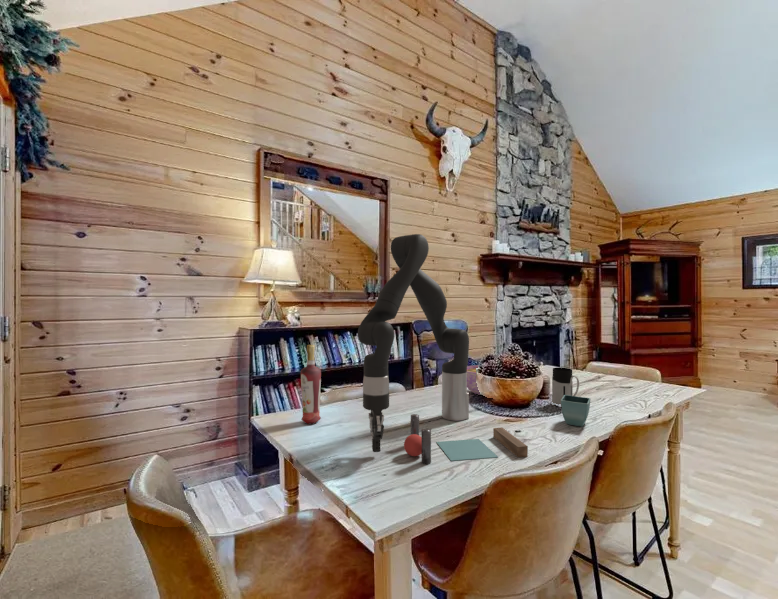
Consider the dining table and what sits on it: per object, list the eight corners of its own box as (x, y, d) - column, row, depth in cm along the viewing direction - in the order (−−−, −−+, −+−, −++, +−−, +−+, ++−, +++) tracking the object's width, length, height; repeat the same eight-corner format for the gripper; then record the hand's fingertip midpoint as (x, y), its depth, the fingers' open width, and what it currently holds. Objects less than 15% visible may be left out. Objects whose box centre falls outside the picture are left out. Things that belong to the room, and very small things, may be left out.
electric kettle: (564, 401, 170) (564, 366, 170) (587, 411, 156) (588, 373, 156) (546, 402, 168) (546, 367, 168) (568, 412, 154) (568, 374, 154)
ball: (419, 428, 117) (401, 435, 117) (420, 434, 111) (400, 442, 111) (427, 447, 116) (408, 455, 116) (428, 454, 110) (408, 462, 110)
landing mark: (478, 439, 126) (478, 438, 126) (498, 457, 112) (498, 456, 112) (436, 442, 124) (436, 441, 124) (451, 461, 110) (451, 460, 110)
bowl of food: (453, 392, 185) (453, 368, 185) (482, 387, 196) (482, 363, 196) (486, 402, 169) (486, 375, 168) (515, 395, 180) (516, 370, 180)
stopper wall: (502, 436, 128) (502, 427, 128) (527, 456, 113) (527, 446, 113) (493, 437, 128) (493, 428, 128) (517, 457, 112) (517, 446, 112)
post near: (429, 460, 110) (429, 428, 110) (432, 464, 108) (432, 431, 108) (420, 460, 110) (420, 428, 110) (422, 464, 107) (422, 431, 107)
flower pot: (588, 429, 135) (588, 403, 135) (560, 425, 139) (560, 400, 139) (590, 422, 142) (590, 397, 142) (564, 418, 147) (564, 394, 147)
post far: (417, 442, 123) (417, 414, 123) (420, 445, 121) (420, 416, 121) (409, 443, 123) (409, 414, 123) (411, 446, 120) (411, 417, 120)
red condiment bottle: (325, 421, 144) (325, 345, 143) (308, 426, 138) (308, 347, 138) (313, 417, 149) (313, 343, 148) (296, 422, 143) (296, 345, 143)
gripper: (393, 396, 107) (393, 459, 107) (385, 385, 120) (385, 441, 120) (365, 397, 106) (365, 461, 106) (360, 386, 119) (360, 443, 119)
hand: (376, 451), depth 113 cm, fingers closed
